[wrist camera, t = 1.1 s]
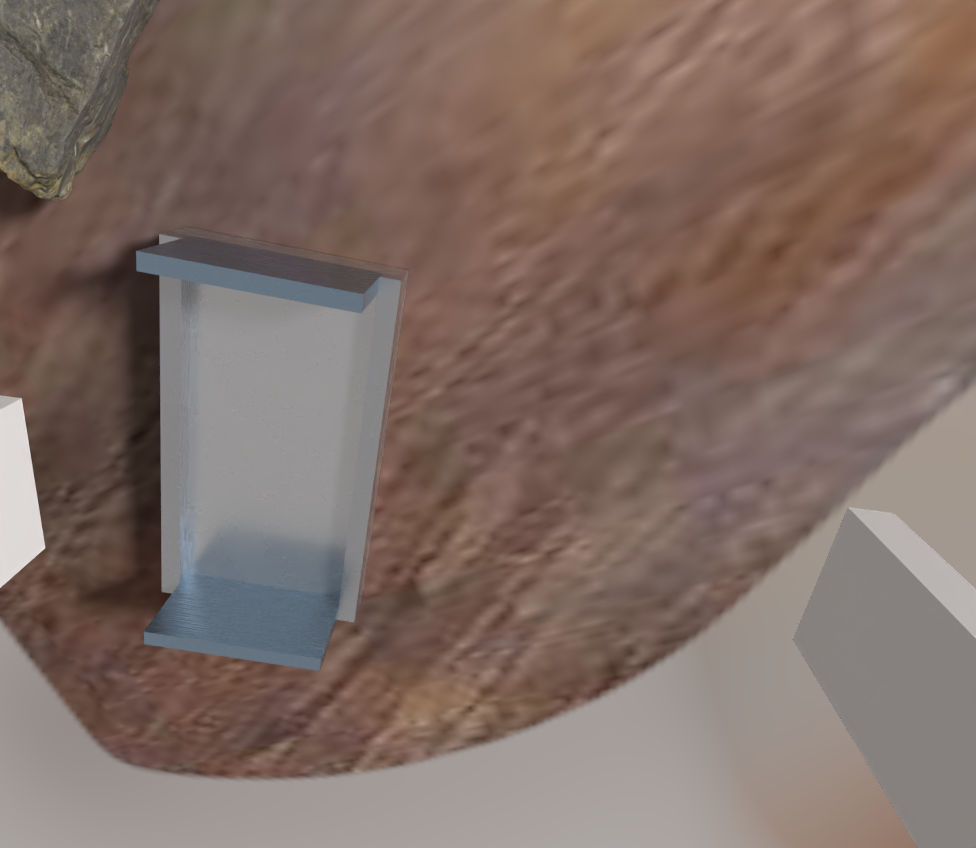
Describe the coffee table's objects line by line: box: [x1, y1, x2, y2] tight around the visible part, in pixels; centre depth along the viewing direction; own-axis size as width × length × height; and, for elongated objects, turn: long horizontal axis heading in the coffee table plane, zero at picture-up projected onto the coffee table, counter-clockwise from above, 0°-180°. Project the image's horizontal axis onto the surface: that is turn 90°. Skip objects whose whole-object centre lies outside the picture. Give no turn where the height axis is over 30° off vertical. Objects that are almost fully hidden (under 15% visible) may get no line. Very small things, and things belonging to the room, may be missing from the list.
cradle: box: [136, 227, 409, 671], centre depth 33 cm, size 20×11×7 cm, turn 169°
